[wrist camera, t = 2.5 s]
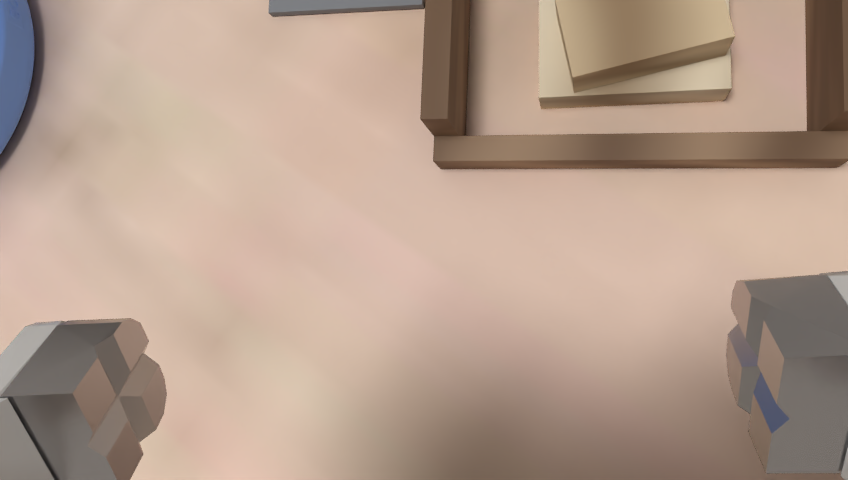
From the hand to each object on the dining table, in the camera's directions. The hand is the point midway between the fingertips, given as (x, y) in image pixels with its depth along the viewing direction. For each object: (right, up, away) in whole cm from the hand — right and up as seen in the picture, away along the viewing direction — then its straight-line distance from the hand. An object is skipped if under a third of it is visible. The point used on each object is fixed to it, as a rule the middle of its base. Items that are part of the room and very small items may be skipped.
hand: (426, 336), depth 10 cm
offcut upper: (+8, +9, +18) cm, 21 cm away
